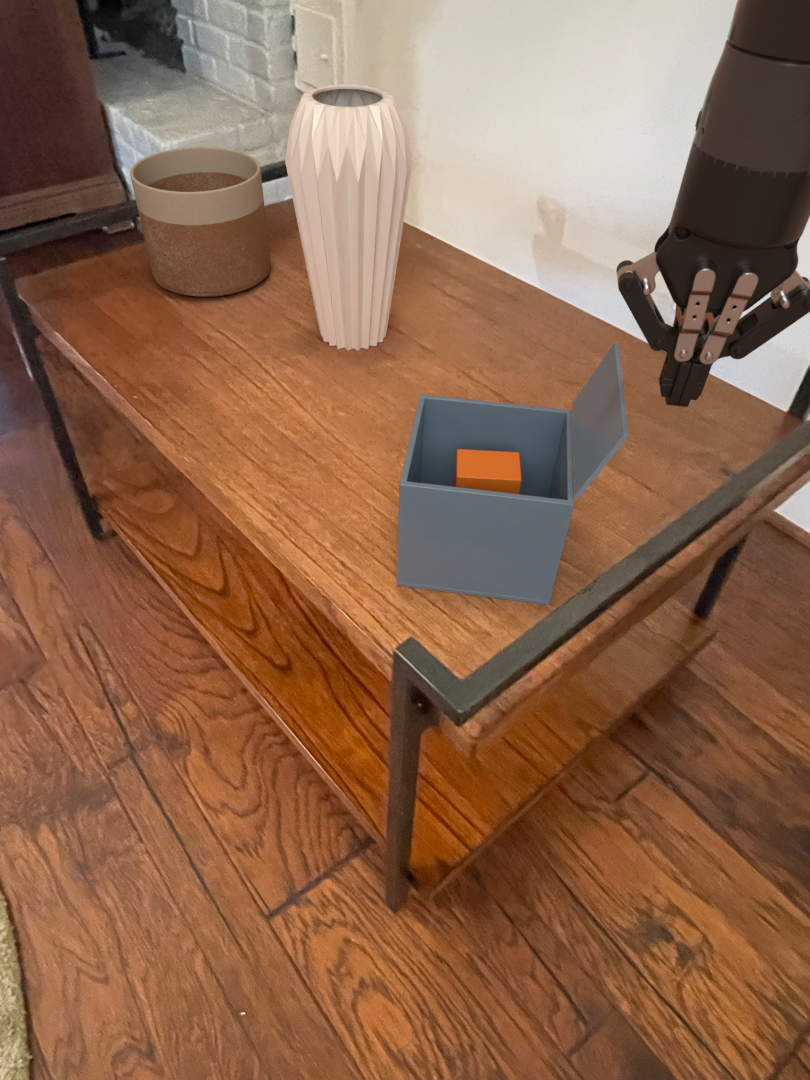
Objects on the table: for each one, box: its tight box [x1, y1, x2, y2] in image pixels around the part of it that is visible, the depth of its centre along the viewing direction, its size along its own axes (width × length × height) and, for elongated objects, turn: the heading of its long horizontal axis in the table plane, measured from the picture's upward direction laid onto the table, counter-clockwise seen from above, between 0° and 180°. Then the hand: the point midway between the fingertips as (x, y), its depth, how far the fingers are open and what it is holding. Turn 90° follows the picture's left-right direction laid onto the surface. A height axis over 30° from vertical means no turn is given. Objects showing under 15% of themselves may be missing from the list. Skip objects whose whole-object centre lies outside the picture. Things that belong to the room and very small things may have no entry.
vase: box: [284, 83, 413, 352], centre depth 84 cm, size 13×13×26 cm
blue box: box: [395, 393, 575, 606], centre depth 64 cm, size 13×12×12 cm
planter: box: [129, 146, 271, 298], centre depth 98 cm, size 16×16×14 cm
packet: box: [453, 449, 522, 494], centre depth 64 cm, size 5×4×9 cm
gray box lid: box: [572, 342, 629, 499], centre depth 57 cm, size 6×12×1 cm
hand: (675, 399), depth 54 cm, fingers closed
